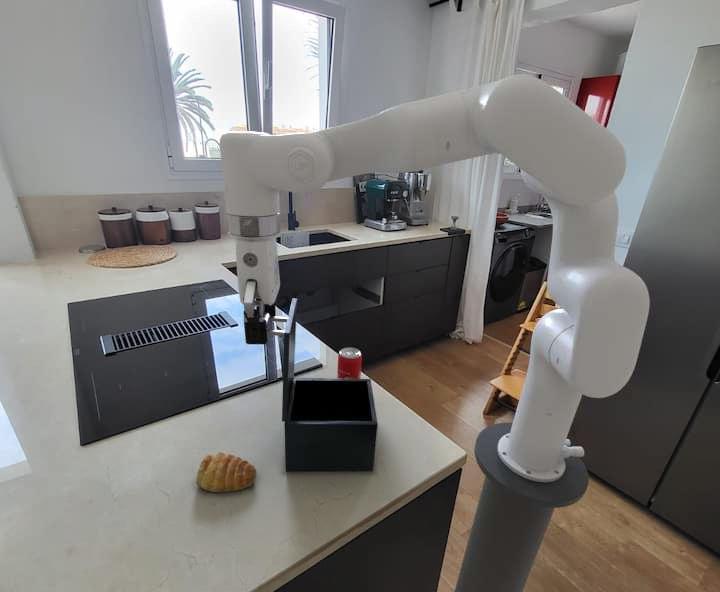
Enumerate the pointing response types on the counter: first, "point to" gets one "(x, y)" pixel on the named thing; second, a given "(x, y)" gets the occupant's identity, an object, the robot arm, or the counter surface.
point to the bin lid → (286, 352)
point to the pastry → (225, 473)
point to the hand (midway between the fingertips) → (261, 329)
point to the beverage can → (349, 364)
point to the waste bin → (330, 426)
